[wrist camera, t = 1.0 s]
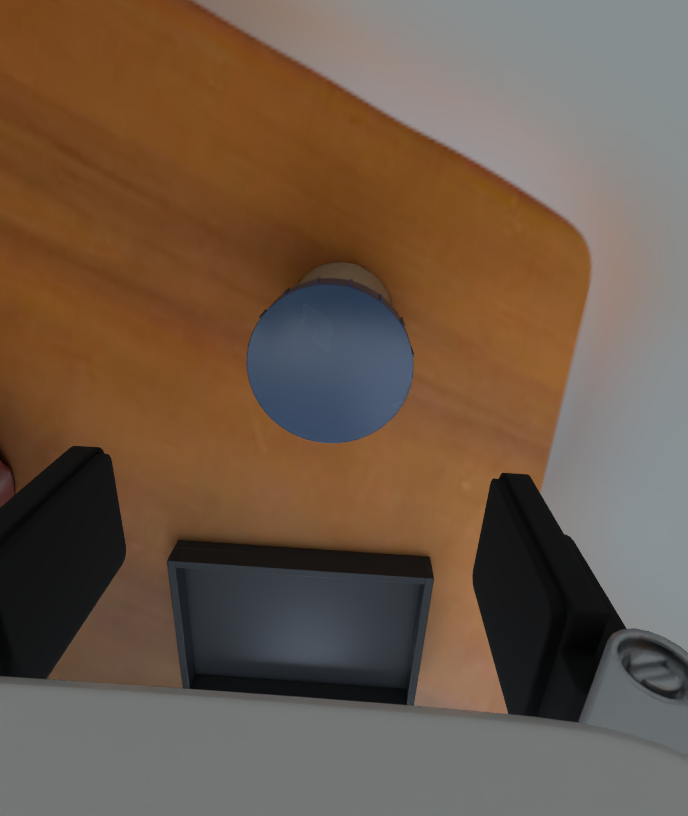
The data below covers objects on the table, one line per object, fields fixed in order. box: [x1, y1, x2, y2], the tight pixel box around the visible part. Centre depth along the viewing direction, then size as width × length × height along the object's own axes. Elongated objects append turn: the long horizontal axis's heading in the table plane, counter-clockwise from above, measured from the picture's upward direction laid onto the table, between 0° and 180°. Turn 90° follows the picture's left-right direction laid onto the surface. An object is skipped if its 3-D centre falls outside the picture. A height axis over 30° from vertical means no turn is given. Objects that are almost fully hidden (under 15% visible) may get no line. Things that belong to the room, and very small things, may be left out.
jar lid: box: [247, 277, 414, 443], centre depth 21 cm, size 7×7×2 cm
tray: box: [167, 541, 434, 706], centre depth 39 cm, size 19×14×2 cm
